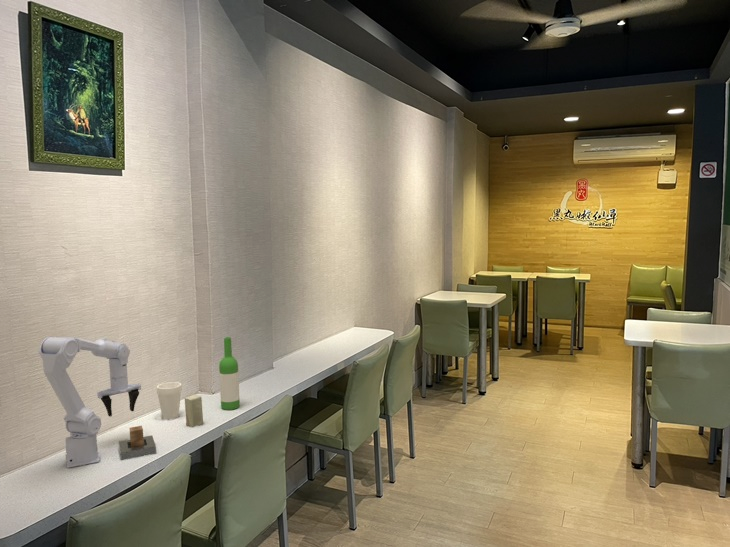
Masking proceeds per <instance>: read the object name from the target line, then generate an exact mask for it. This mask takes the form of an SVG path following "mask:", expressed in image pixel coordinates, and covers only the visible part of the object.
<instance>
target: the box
mask: <svg viewBox="0 0 730 547" xmlns="http://www.w3.org/2000/svg"><path fill="white" fill-rule="evenodd" d="M184 408H185V409H184V410H185V422H186V423H185V424H186V426H188V427H190V428H194V427H198V426H200V425H202V424H204V416H203V414H204V413H203V398H202V396H201V395H197V394H192V395H190V396H187V397H184Z"/></svg>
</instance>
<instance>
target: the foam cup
mask: <svg viewBox="0 0 730 547" xmlns="http://www.w3.org/2000/svg"><path fill="white" fill-rule="evenodd" d="M156 394H157V397H158V402H159V406H160V411H161V413H160V414H161V417H162V419H163V420H172V419H173V420H174V419H177V418H179V417H180V407H181V395H182V383H181V382H179V381H169V382H168V381H167V382H163V383H160V384H158V385H157V386H156Z"/></svg>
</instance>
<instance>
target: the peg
mask: <svg viewBox="0 0 730 547" xmlns="http://www.w3.org/2000/svg"><path fill="white" fill-rule="evenodd" d="M143 437H144V428H143V426H142V425H138V426H132V427H129V439H130V444H131V448H134V447H140V446H144V439H143Z"/></svg>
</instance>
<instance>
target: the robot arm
mask: <svg viewBox="0 0 730 547" xmlns="http://www.w3.org/2000/svg"><path fill="white" fill-rule="evenodd" d="M81 351H86V352H89V351H90V352H91V354H92V355H93V356H95V357H101V358H106V359H107V360H108V363H109V365H108V366H109V378H110V379H109V380H110V382H109V383H110V384H109V385H110V388H107V389H103V390H100V391H97V392H96V393H97V398H98V399H100V400H101V401H102V402H103V405H104V408H105V409H106V412H107V416H108V417H111V418H112V416H113V412H112V411H113V410H112V400H113V399H112V398H111V396H116V395H119V394H124V393H125V394H126V393H127V394H128V399H129V400H128V401H129V411H131V412H134V411H135V407H136V406H135V405H136V402H137V399H138V397H139V395H140V391H142V384H140V383H134V384H129V380H128V379H129V378H128V377H129V376H128V362H129V356H130V352H131V349H129V347H128V345H127V344H126V343H119V342H118V343H117V341H116V340H111V341H110V340H109V341H108V339H107V338H104V337H103V338H102V337H101V338H99V339H97V340H95V341H92V340H88V339H85V338H81V337H69V336H67V337H66V336H65V337H64V336H56V337H55V336H47V337H45V338H44V339H43V340H42V342H41V343H40V346H39V349H38V354H39V356H40V358H41V359H42V365H43V366H42V367H43V371H44V372H43V373H44V375H45V376H46V379H47V380H48V382H49V384H50V385H51V387H52V389H53V391H54V392H55V395H56V396H57V398H58V400H59V401H60V404H61V405H62V407H63V409H64V410H65V412H66V413H65V415H64V417H63V420H64V423H65V429H66V431H67V432H68V433H69V434H70V435H69V436H67V437H65V453H66V454H65V461H66V467H67V468H69V469H70V468H74V467H79V466H84V465H90V464H95V463H99V462H100V452H99V451H98V440H97V439H98V438H97V437H98V436H97V434H99V431H100V430H101V427H102V419H101V417H100V416H98V415H97V414H96V413H95V412H94V411H93V410H92V409H90V408H89V407H87V406H86V405H85V404H84V401H83V399H82V397H81V396H80V394H79V392H78V390H77V388H76V386H75V385H74V382H73V381H72V379H71V377H70V375H69V374H68V371H67V369H68V368H69V367H70V366H71V364H72V363H73V360H74V359H75V357H76V355H77V354H78V353H80V352H81Z"/></svg>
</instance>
